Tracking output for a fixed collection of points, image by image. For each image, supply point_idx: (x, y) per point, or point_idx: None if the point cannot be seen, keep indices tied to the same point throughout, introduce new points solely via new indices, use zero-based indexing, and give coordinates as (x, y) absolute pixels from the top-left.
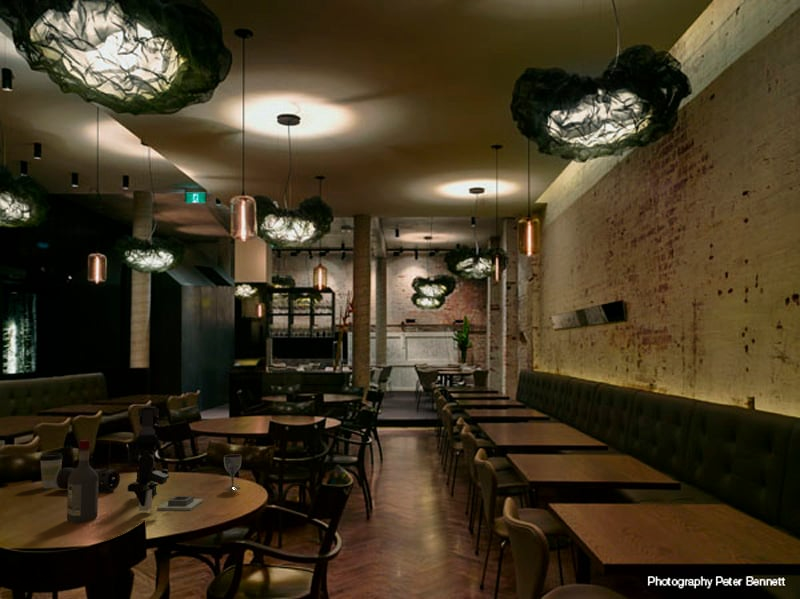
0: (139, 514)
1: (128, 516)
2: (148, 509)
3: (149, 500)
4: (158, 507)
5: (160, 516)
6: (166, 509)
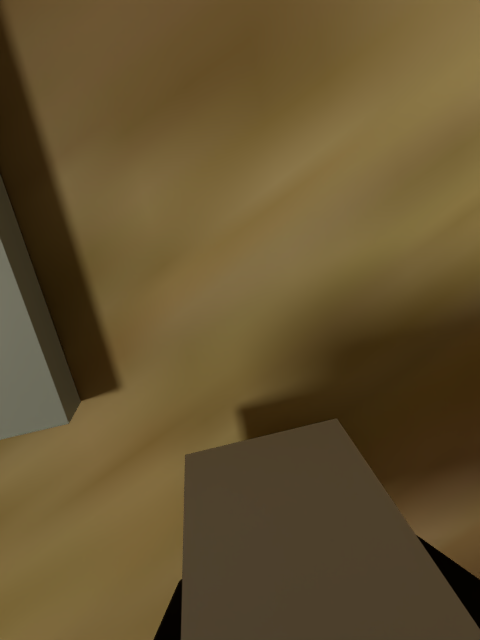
0: None
1: (449, 540)
2: (308, 431)
3: (320, 572)
4: (52, 405)
5: (413, 87)
6: (18, 242)
